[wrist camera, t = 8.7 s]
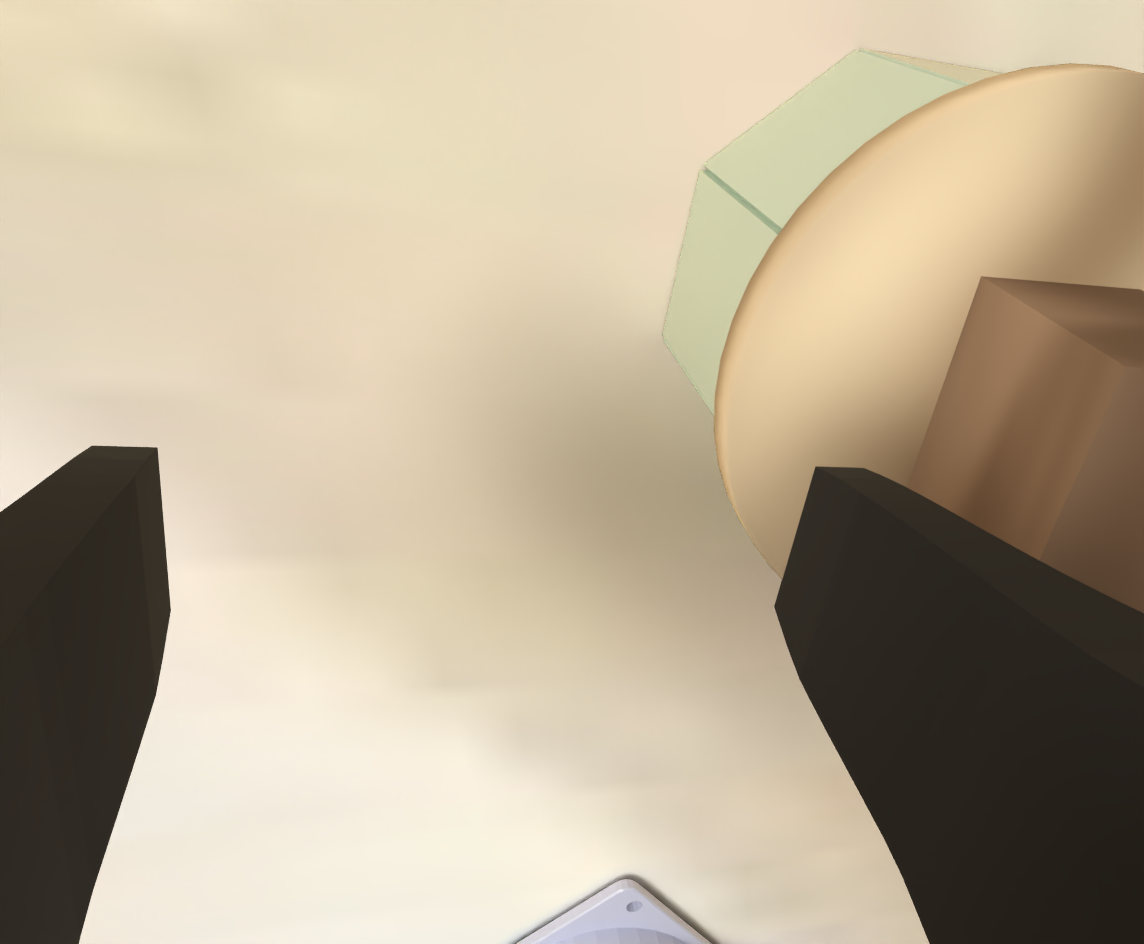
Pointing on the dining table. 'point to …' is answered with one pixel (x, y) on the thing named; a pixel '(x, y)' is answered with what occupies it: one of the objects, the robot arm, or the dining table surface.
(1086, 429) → the oak lid
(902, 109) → the green bowl
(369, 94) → the dining table surface
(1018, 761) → the robot arm
